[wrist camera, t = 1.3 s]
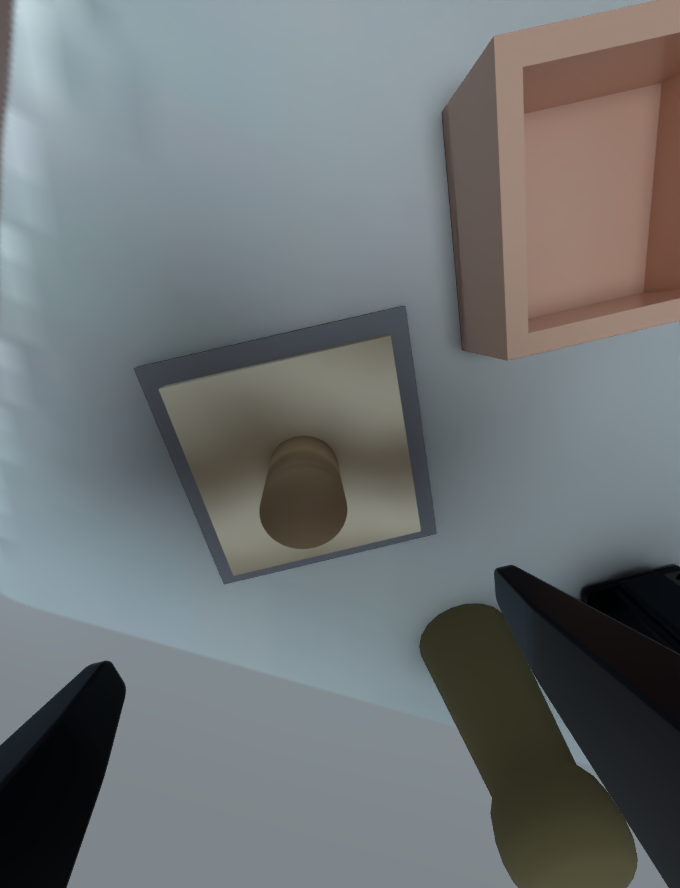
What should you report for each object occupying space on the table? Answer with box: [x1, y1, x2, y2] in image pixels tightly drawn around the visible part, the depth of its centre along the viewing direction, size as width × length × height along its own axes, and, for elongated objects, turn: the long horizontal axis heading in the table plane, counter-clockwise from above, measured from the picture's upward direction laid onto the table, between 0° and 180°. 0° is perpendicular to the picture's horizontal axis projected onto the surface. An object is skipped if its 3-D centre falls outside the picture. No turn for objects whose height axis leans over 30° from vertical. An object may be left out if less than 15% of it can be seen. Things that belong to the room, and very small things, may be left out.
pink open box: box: [442, 0, 680, 360], centre depth 13 cm, size 9×9×4 cm
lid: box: [159, 335, 421, 576], centre depth 15 cm, size 10×10×5 cm
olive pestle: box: [419, 604, 638, 888], centre depth 18 cm, size 6×6×11 cm
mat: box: [134, 306, 437, 584], centre depth 18 cm, size 12×12×1 cm
